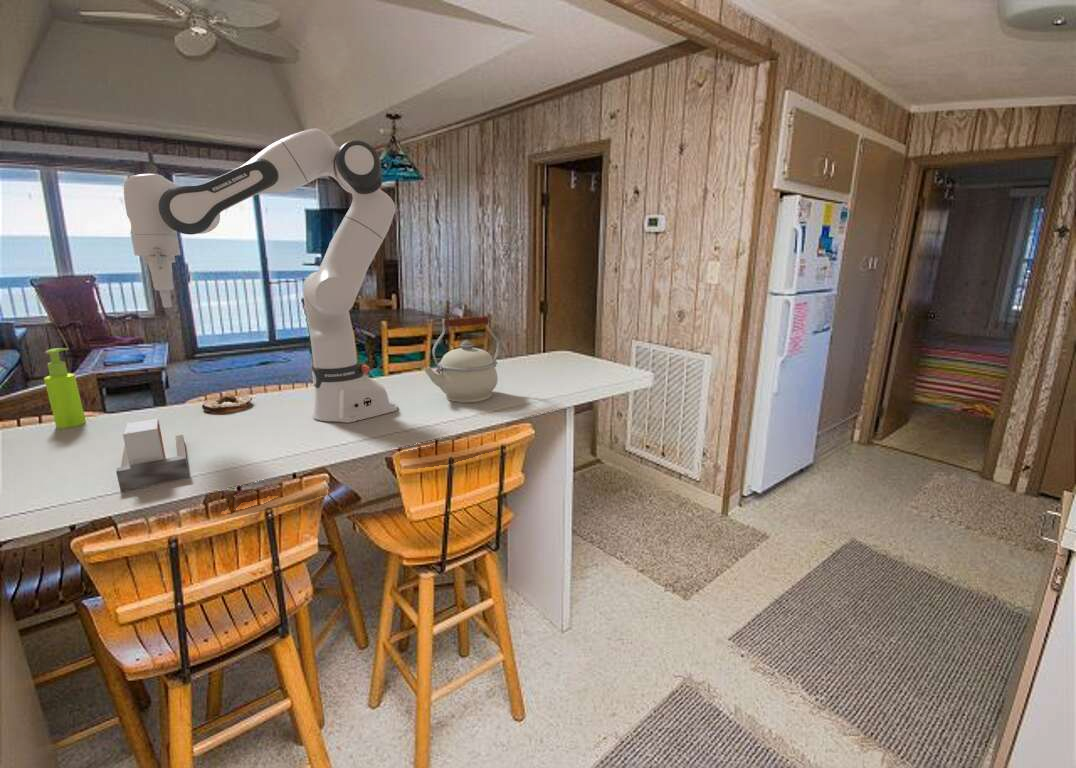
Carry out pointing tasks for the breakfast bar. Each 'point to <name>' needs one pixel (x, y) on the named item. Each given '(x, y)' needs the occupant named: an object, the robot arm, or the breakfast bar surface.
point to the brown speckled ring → (227, 404)
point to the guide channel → (153, 469)
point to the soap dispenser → (63, 393)
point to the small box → (143, 442)
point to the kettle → (465, 367)
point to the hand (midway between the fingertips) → (167, 307)
